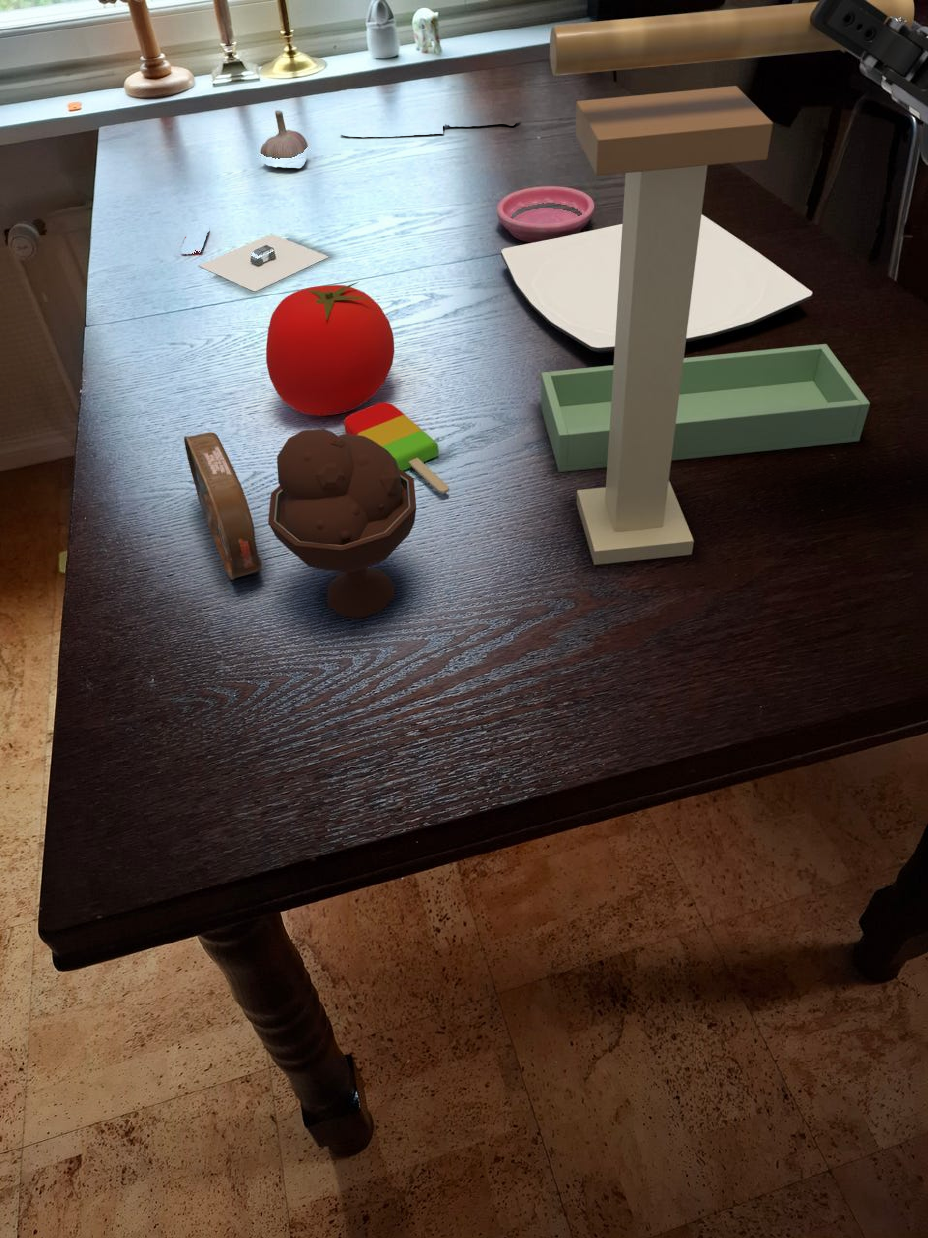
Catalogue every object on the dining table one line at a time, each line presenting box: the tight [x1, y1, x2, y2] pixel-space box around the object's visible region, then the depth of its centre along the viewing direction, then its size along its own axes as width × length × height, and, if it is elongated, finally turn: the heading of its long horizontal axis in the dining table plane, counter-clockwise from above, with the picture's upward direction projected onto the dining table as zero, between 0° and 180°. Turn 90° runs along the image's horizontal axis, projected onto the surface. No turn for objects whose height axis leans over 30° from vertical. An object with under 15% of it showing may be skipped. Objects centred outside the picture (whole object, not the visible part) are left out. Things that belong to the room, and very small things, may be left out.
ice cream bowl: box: [267, 428, 417, 619], centre depth 68 cm, size 11×11×15 cm
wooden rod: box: [549, 0, 915, 77], centre depth 52 cm, size 20×2×2 cm, turn 95°
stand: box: [575, 85, 774, 566], centre depth 65 cm, size 10×8×32 cm
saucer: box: [496, 185, 595, 243], centre depth 119 cm, size 12×12×3 cm
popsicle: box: [343, 401, 450, 494], centre depth 85 cm, size 6×15×2 cm, turn 33°
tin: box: [183, 432, 262, 580], centre depth 76 cm, size 15×3×8 cm, turn 24°
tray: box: [540, 343, 871, 473], centre depth 85 cm, size 28×11×4 cm, turn 95°
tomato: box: [265, 281, 395, 417], centre depth 90 cm, size 12×14×11 cm
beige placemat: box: [198, 233, 330, 292], centre depth 117 cm, size 12×12×2 cm
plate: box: [500, 213, 813, 354], centre depth 105 cm, size 29×29×3 cm
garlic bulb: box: [260, 109, 309, 159], centre depth 138 cm, size 8×7×8 cm
